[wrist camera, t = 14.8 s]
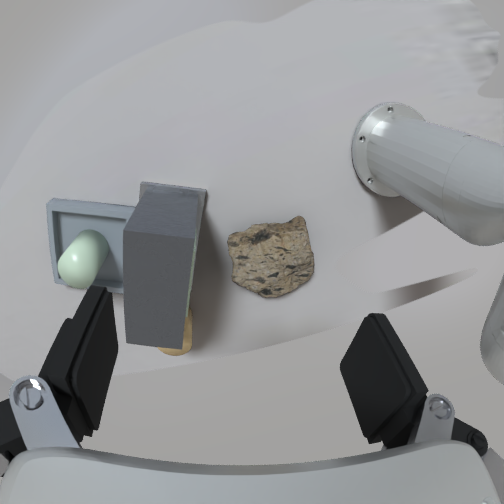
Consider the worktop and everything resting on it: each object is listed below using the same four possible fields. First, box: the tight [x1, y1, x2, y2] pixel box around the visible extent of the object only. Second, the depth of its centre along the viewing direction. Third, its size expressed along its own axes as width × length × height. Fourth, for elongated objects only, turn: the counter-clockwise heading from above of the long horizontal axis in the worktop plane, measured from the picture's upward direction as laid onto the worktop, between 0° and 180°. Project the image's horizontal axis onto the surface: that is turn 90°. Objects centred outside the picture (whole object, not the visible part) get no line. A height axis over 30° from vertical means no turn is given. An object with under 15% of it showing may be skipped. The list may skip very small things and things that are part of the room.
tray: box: [46, 198, 136, 294], centre depth 35 cm, size 12×12×2 cm
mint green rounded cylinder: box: [58, 229, 109, 289], centre depth 33 cm, size 5×5×6 cm
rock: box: [227, 216, 314, 298], centre depth 39 cm, size 11×11×4 cm
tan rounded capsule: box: [158, 308, 192, 356], centre depth 41 cm, size 5×5×6 cm
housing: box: [123, 182, 206, 350], centre depth 32 cm, size 8×14×12 cm, turn 168°
